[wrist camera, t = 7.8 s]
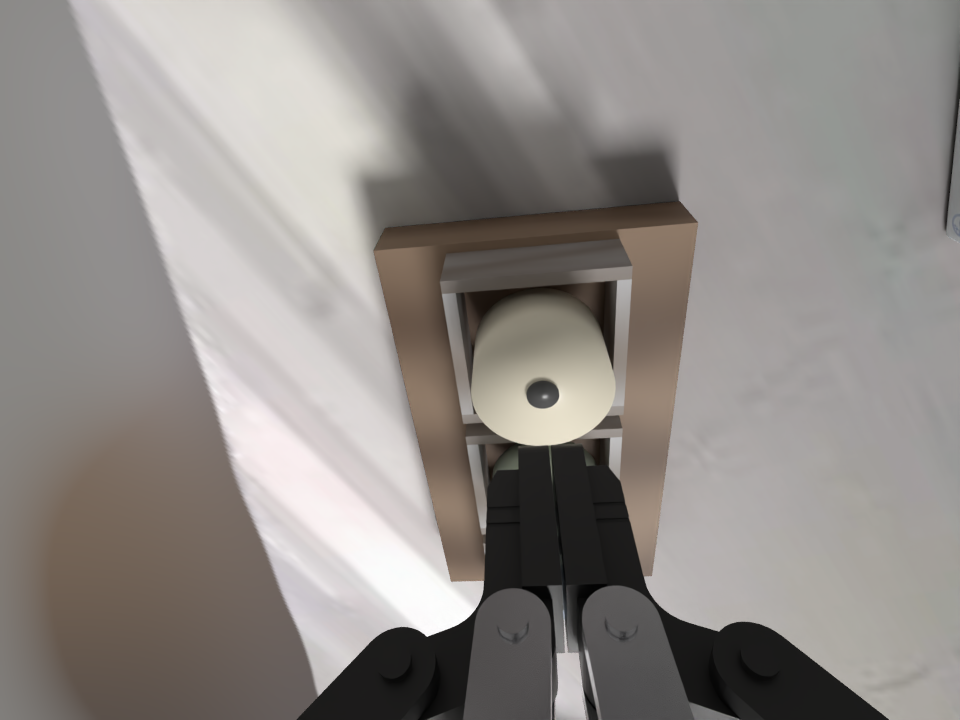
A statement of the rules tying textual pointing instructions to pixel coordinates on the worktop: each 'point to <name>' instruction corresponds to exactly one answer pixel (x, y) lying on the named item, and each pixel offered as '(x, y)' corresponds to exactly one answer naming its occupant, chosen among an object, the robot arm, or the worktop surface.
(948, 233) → the light bulb box
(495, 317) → the one-pip button
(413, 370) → the button panel
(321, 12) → the worktop surface
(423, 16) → the worktop surface
